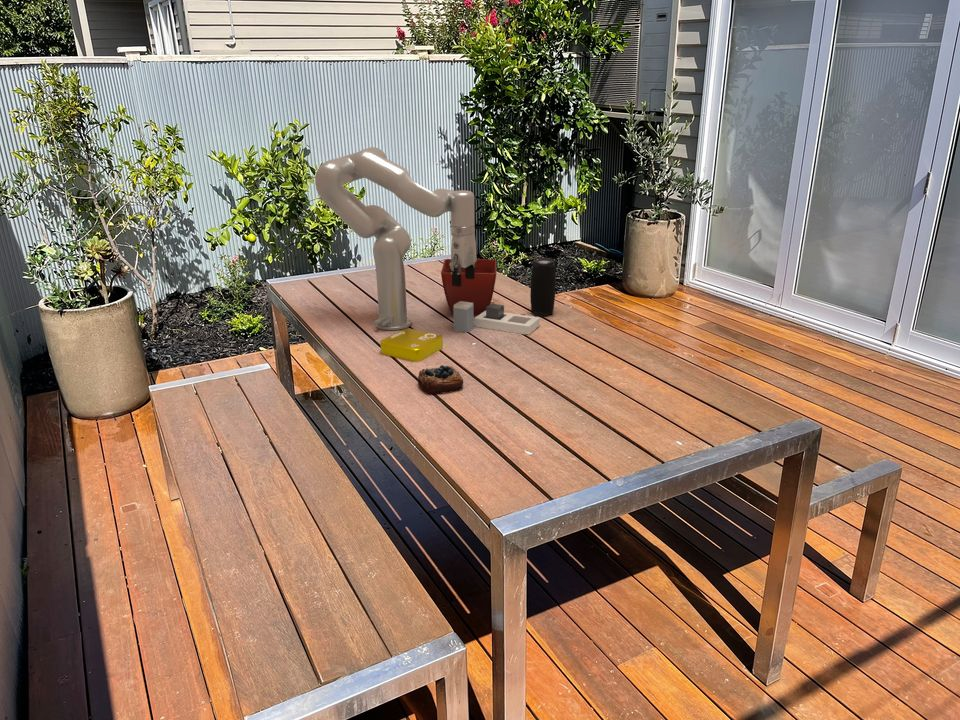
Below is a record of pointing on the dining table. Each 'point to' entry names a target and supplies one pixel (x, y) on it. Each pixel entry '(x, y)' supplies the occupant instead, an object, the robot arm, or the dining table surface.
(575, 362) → the dining table surface
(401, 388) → the dining table surface
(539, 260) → the portable speaker
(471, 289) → the plant pot
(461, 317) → the plug
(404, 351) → the element tile
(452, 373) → the pastry
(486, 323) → the power strip
